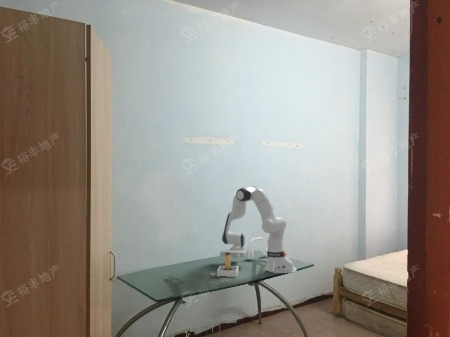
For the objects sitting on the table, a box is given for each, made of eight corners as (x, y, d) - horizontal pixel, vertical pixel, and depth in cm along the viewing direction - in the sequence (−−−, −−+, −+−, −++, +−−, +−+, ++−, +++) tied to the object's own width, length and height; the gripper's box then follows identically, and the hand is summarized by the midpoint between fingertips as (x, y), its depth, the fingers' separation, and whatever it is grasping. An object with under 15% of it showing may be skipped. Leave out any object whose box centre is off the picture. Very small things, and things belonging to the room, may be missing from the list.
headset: (250, 260, 281) (250, 239, 282) (245, 259, 287) (245, 238, 288) (269, 257, 292) (269, 236, 292) (264, 255, 298) (264, 235, 298)
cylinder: (231, 271, 246) (230, 251, 246) (230, 273, 242) (229, 253, 242) (225, 271, 247) (225, 251, 247) (224, 273, 243) (224, 253, 243)
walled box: (238, 271, 250) (238, 266, 250) (236, 276, 237) (236, 271, 237) (220, 271, 252) (219, 265, 252) (216, 276, 239) (216, 270, 239)
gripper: (222, 247, 272) (217, 251, 258) (247, 248, 267) (244, 252, 253) (222, 255, 271) (217, 259, 258) (247, 256, 267) (244, 260, 253)
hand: (231, 255), depth 256 cm, fingers open, 8 cm apart
